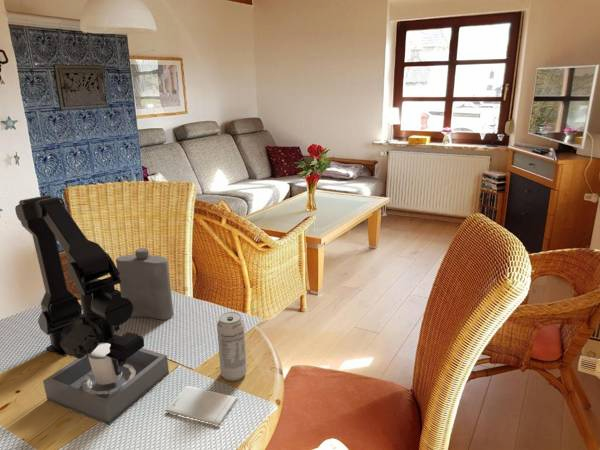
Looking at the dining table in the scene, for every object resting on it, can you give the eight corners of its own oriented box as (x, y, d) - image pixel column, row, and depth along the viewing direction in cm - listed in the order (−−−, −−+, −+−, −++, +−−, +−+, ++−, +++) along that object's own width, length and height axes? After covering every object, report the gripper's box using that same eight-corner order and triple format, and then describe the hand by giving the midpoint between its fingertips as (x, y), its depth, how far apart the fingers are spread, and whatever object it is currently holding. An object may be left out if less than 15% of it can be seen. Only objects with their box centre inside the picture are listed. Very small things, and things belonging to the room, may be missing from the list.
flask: (177, 311, 135) (170, 247, 129) (168, 321, 130) (161, 255, 124) (131, 307, 138) (122, 245, 132) (120, 316, 132) (110, 252, 126)
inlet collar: (71, 391, 100) (70, 385, 100) (110, 363, 110) (110, 358, 109) (109, 405, 96) (108, 399, 95) (146, 375, 105) (145, 370, 105)
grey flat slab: (165, 409, 94) (219, 422, 90) (187, 384, 102) (237, 395, 98) (166, 415, 95) (219, 429, 91) (187, 390, 102) (238, 402, 98)
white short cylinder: (131, 371, 104) (127, 344, 102) (108, 389, 98) (103, 362, 96) (109, 364, 107) (105, 338, 104) (85, 381, 101) (79, 354, 98)
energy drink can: (246, 365, 110) (243, 309, 105) (247, 381, 104) (244, 323, 99) (221, 367, 109) (216, 311, 104) (220, 383, 103) (215, 325, 99)
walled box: (47, 400, 99) (42, 380, 97) (111, 355, 114) (108, 337, 113) (109, 425, 92) (105, 404, 90) (169, 373, 107) (166, 355, 105)
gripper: (32, 316, 94) (46, 380, 99) (99, 337, 86) (110, 405, 91) (77, 293, 103) (88, 353, 108) (141, 310, 96) (150, 373, 101)
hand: (107, 370), depth 102 cm, fingers closed on white short cylinder, 6 cm apart
